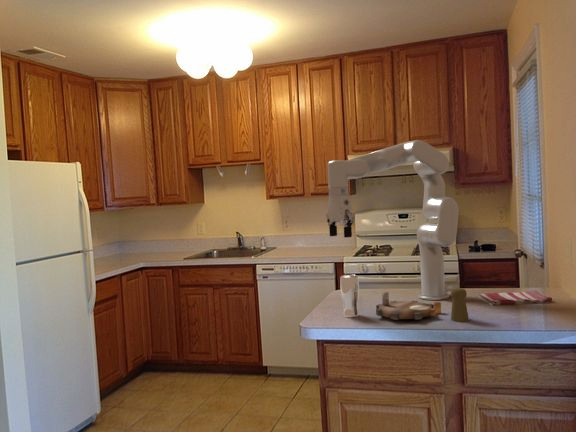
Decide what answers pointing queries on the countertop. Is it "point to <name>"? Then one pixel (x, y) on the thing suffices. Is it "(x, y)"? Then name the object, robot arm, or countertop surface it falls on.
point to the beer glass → (350, 295)
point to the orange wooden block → (436, 306)
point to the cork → (459, 305)
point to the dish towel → (514, 298)
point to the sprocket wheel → (403, 309)
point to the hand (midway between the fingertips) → (340, 236)
